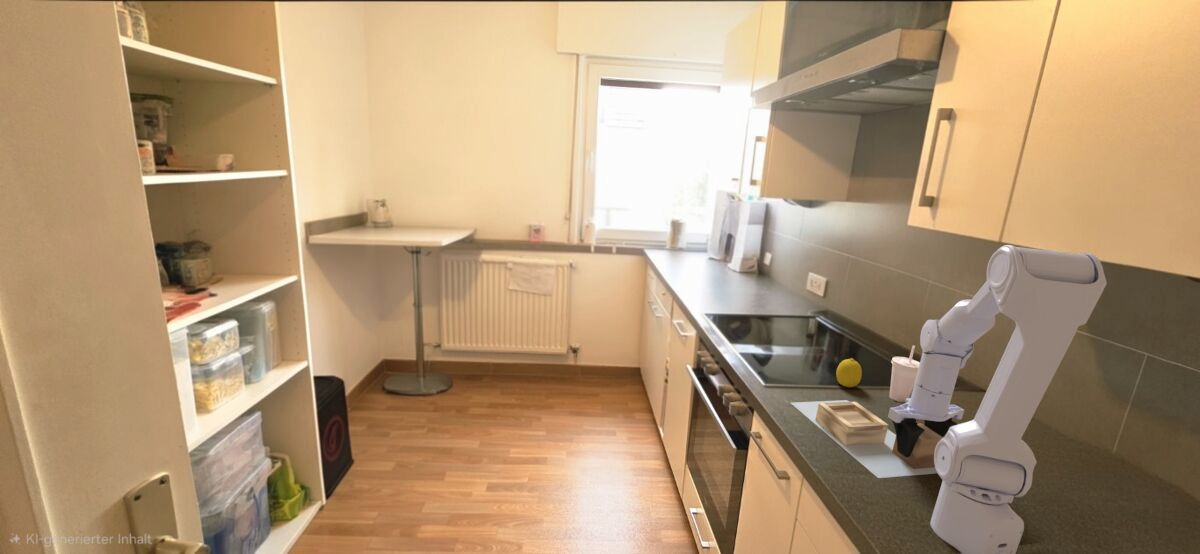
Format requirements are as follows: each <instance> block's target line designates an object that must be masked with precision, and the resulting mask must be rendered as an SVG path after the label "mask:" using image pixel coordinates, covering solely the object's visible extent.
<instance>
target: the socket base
mask: <svg viewBox="0 0 1200 554" xmlns="http://www.w3.org/2000/svg"><path fill="white" fill-rule="evenodd" d="M815 421H817V422H818V423H819V424H820V425H821V426H823V427H824V428H825V429H826V430H827V431H828V432H830V433H831V434H832V435H833V436H834V437H836V438H837V439H838V440H839V441H840V442H841V443H843V444H844V445H845V446H846V445H860V444H875V443H884V441H885V438H886V434H887V430H889V424H888V423H886V422H885V421H884V420H882V419H881V418H880V417H878V416H877V415H876V414H874V413H873V412H871V411H870V410H868V409H867V408H865V407H864V406H862V405H861V403H858V402H857V401H849V402H837V403H819V405H818V410H817V415H816V419H815Z"/></svg>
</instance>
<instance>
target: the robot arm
mask: <svg viewBox="0 0 1200 554" xmlns="http://www.w3.org/2000/svg"><path fill="white" fill-rule="evenodd" d="M1106 286H1107V279H1106V275H1105V272H1104V267H1103V264H1102V263H1101V260H1100V259H1099V258H1098V257H1097V255H1094V254H1093V253H1089V252H1082V253H1081V252H1079V253H1077V252H1066V251H1058V250H1050V249H1049V250H1048V249H1047V250H1046V249H1039V248H1028V247H1018V246H1015V245H1011V244H1006V245H1002V246H1000V247H999V248H998V249H997V250H996V251H994V252H993V253H992V254H991V256H990V259H989V260H988V263H987V267H986V281H985V282H984V284H982V286H981V287H980V288H979V290H978V291H977V293H975V294H974V296H973V297H972V298H971V299H962V300H959V301H958V302H957V303H956V304H955V305H954V306H953V307H951V308H950V310H948V311H947V313H945V314H944V315H943V316H942V317H941V318H940V319H927V320H926V322H925V323H924V324H923V325H922V328H921V331H920V337H919V344H920V347H921V350H922V353H921V357H920V361H919V363H920V364H919V368H918V372H917V376H916V380H915V383H914V387H913V389H912V391H911V394H910V397H909V398H906V401H905V402H904V403H903V404H900V405H898V406H895V407H894V406H893V407H889V411H888V414H887V415H888V416H887V418H889V419H890V420H891V421H892V423H893V427H894V430H895V431H894V432H895V435H896V437H897V451H898V452H899V453H901V454H902V455H903V456H905V457H909V456H910V455H911V453H912V451H913V448H914V445H915V443H916V441H917V439H918V438H919V436H920V435H921V434H922V433H923V432H924V431H925V430H924V429H923V428H921V427H920V426H918V425H917V424H918V423H919V422H917V421H919V420H923V421H924V423H923V425H925V426H926V427H928V428H929V429H931V430H933V431H934V432H936V433H937V434H939V435H940V436H942V437H943V438H942V439H941V440H940V441H939V442H938V443H937V445H936V448H935V452H934V464H935V468H936V471H937V473H936V474H938V476H939V477H940V479H941V480H942V482H941V486H940V487H939V488H940V489H939V491H938V496H937V499H936V502H935V506H934V509H933V511H932V516H931V519H930V523H929V524H930V527H931V528H932V530H933V532H934V533H935V534H936V535H937V536H938V538H940V539H941V540H943V541H944V542H946V543H947V544H948V545H950V546H952V547H954V548H955V549H956V550H957V551H959V552H958V553H957V552H956V554H1016V553H1017V550H1018V547H1019V544H1020V542H1021V540H1022V537H1023V533H1024V530H1025V522H1024V519H1022V518H1021V517H1020V515H1018V514H1017V513H1016V512H1015V511H1014V510H1013V509H1012V508H1011V506H1010V505H1009V504H1013V501H1014V498H1015V497H1016V498H1021V497H1023V496H1025V495H1026V494H1027V492H1028V491H1030V489H1031V487H1032V484H1033V483H1032V482H1033V472H1034V469H1035V466H1036V465H1037V463H1038V461H1037V460H1036V457H1035V455H1034V452H1033V450H1032V449H1031V447H1030V445H1028V444H1027V442H1025V441H1024V440H1023V439H1022V438H1023V435H1024V434H1025V432H1026V430H1027V428H1028V426H1029V424H1030V422H1031V420H1032V418H1033V416H1034V414H1035V413H1036V411H1037V408H1038V407H1039V405H1040V403H1041V401H1042V399H1043V397H1044V395H1045V393H1046V391H1047V390H1048V387H1049V386H1050V384H1051V381H1052V379H1053V378H1054V376H1055V374H1056V373H1057V370H1058V368H1059V367H1060V364H1061V362H1062V361H1063V358H1065V357H1064V356H1065V355H1066V353H1067V351H1068V349H1069V347H1070V345H1071V343H1072V341H1073V339H1074V338H1075V335H1076V333H1077V331H1078V327H1081V326H1083V325H1086V324H1087V323H1088V320H1089V319H1090V317H1091V315H1092V313H1093V311H1094V309H1095V307H1096V306H1097V304H1098V301H1099V300H1100V298H1101V296H1102V294H1103V292H1104V289H1105V288H1106ZM1000 313H1001V314H1003V315H1004V316H1006V317H1008V318H1009V319H1010V320H1013V321H1014V323H1015V328H1014V330H1013V332H1012V333H1011V337H1010V339H1009V341H1008V343H1007V346H1006V347H1005V349H1004V352H1003V355H1002V356H1001V358H1000V361H999V363H998V365H997V368H996V369H995V371H994V374H993V377H992V379H991V381H990V382H989V385H988V387H987V389H986V392H985V393H984V396H983V398H982V401H981V403H980V405H979V407H978V409H977V411H976V413H975V416H974V419H972V420H969V421H966V422H962V423H957V422H955V421H953V418H954V419H956V420H962V419H963V415H964V413H965V409H963V408H962V407H960V406H958V405H956V404H951V400H952V397H953V394H954V390H955V385H956V384H957V379H958V376H959V373H960V370H961V369H964V368H965V367H966V362H967V361H968V359H969V358H970V357H971V356H972V354H973V352H974V350H975V347H974V346H975V342H977V340H979V339H980V338H981V337H982V336H984V335H985V334H986V333H988V332H989V331H990V330H991V329H992V328H994V326H995V325H996V317H995V316H996V315H997V314H1000Z"/></svg>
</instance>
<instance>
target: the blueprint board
mask: <svg viewBox="0 0 1200 554" xmlns="http://www.w3.org/2000/svg"><path fill="white" fill-rule="evenodd" d="M837 402H850V401H849V400H847V399H844V400H821V401H819V400H818V401H817V400H816V401H802V402H801V401H797V402H790V405H792V406H793V407H794V408H796V409H797V410H798V411H799V412H801V414H802V415H803V416H804V417H806V418H807V419H809V421H811V422H812V423H813V424H814V425H815V426H816V427H818V428H819V429H820V430H821V431H822V432H823V433H824V434H826V435H827V436H828V437H830V438H831V440H833V441H834V442H835V443H836V444H837V445H839V446H840V447H841V448H842V449H843V450H845V451H846V452H847V453H848V454H849V455H850V456H852V458H853V459H855V460H856V461H857V462H858V463H860V464H861V465H862V466H863V467H865V468H866V469H867V470H868V471H869V472H870V473H871V474H872V475H874V477H876V478H877V479H887V478H896V477H897V478H898V477H909V476H920V475H923V476H924V475H930V474H931V475H933V474H938V473H937V471H936V468H935V467H932V468H920V469H913V468H912V467H910V466H909V465H908V464H907V463H905V462H904V461H903V460H901V459H900V458H899V457H897V456H896V455H895V454H893V453H892V450H893V446H894V443H895V439H896V433H894V432H893V431H891V430H890V429H888V430H887V434H886V438H885V441H884V443H875V444H860V445H846V446H845V445H844V444H843V443H841V442H840V441H839V440H838V439H837V438H836V437H834V436H833V435H832V434H831V433H830V432H828V431H827V430H826V429H825V428H824V427H823V426H821V425H820V424H819V423H818V422H817V421H815V419H816V415H817V410H818V405H819V403H837Z"/></svg>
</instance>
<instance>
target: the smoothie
mask: <svg viewBox="0 0 1200 554" xmlns="http://www.w3.org/2000/svg"><path fill="white" fill-rule="evenodd" d="M911 346H912V347H911V351H910V354H909V357H905V356H893V357H892V359H891V361H890V363H891V364H892V365H891V366H892V367H891V374H890V375H891V377H890V387H889V398H890V399H891V400H893V401H896V402H899V403H906V402H905V401H906V398H910V397H911V395H912V391H913V387H914V383H915V380H916V376H917V372H918V368H919V364H920V361H917V360H914V359H913V356H914V353H915V348H916V345H911Z"/></svg>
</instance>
